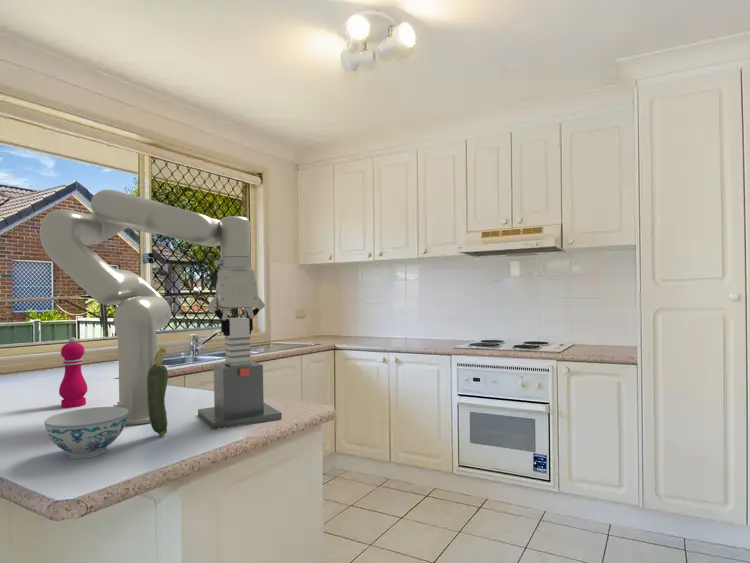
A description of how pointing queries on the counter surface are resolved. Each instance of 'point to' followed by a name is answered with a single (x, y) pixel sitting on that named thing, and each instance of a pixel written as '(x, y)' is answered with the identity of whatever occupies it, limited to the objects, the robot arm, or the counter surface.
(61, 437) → the chinaware
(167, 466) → the counter surface
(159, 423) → the vegetable
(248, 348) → the column
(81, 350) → the pepper mill
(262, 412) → the stand base
